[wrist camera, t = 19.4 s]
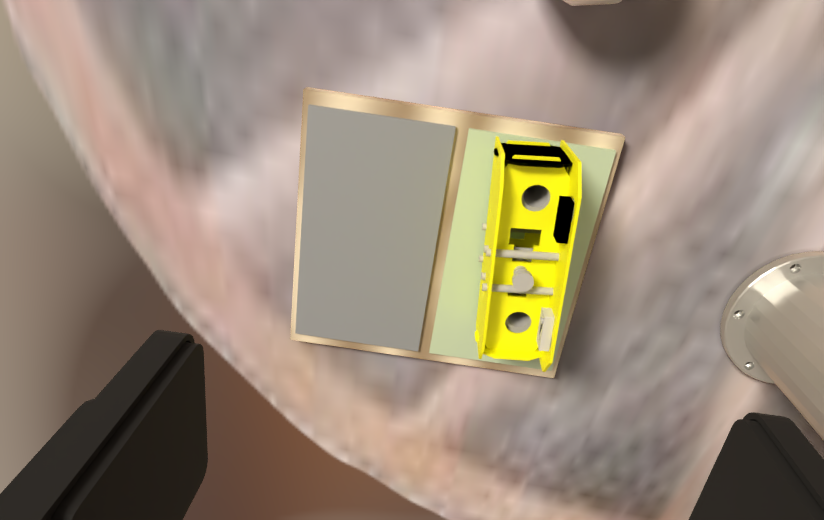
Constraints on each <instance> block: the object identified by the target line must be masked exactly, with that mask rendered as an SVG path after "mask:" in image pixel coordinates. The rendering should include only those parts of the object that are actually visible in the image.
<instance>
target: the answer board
mask: <svg viewBox="0 0 824 520" xmlns="http://www.w3.org/2000/svg"><path fill="white" fill-rule="evenodd" d="M496 136H497V137H499V139H500V142H501V143H506V142H507V141H508V140H512V141H530V142H548V143H549V144H550V145H553V146H558V147H560V142H561V140H564V141H565V142H566V144H567V145H568V146H569V147H570V149H571V150H572V151H573V152H574V154H575V155H576V156H577V157H578V159H579V160H580V161H581V163H582V199H581V205H580V210H579V216H578V222H577V227H576V233H575V238H574V244H573V250H572V255H571V261H570V267H569V272H568V278H567V283H566V289H565V295H564V300H563V306H562V312H561V317H560V323H559V328H558V334H557V340H556V345H555V351H554V357H553V362H552V364H551V365H550V367H549V368H548V369H547V370H546V372H542V368H541V364H540V360H539V358H536V359H533V360H530V361H523V360H508V359H494V358H492V357H489V356H487V355H484V354H483V356H482V359H479V357H478V346H477V342H476V341H475V331H476V318H477V309H478V299H479V290H480V280H481V271H482V262H479V255H483V252H484V242H485V233H486V230H482V223H487V214H488V204H489V195H490V185H491V176H492V166H493V157H494V148H495V138H496ZM624 141H625V137H624V136H623V135H622V134H618V133H611V132H605V131H598V130H591V129H584V128H578V127H571V126H564V125H558V124H551V123H544V122H537V121H531V120H524V119H517V118H511V117H504V116H497V115H491V114H484V113H477V112H470V111H464V110H457V109H450V108H444V107H437V106H430V105H423V104H417V103H410V102H403V101H397V100H390V99H383V98H376V97H370V96H363V95H356V94H350V93H343V92H336V91H330V90H323V89H316V88H309V87H307V88H305V89H303V107H302V126H301V145H300V165H299V184H298V203H297V222H296V241H295V260H294V279H293V298H292V317H291V337H290V340H297V341H304V342H310V343H317V344H324V345H331V346H338V347H345V348H351V349H358V350H365V351H372V352H379V353H385V354H392V355H399V356H406V357H413V358H420V359H426V360H433V361H440V362H447V363H454V364H461V365H467V366H474V367H481V368H488V369H495V370H502V371H508V372H515V373H522V374H529V375H536V376H542V377H549V378H554V376H555V373H556V369H557V366H558V362H559V359H560V356H561V352H562V349H563V346H564V342H565V339H566V336H567V332H568V329H569V325H570V322H571V319H572V315H573V312H574V309H575V305H576V302H577V299H578V295H579V292H580V289H581V285H582V282H583V278H584V275H585V272H586V268H587V265H588V262H589V258H590V255H591V252H592V248H593V245H594V241H595V238H596V235H597V231H598V228H599V225H600V221H601V218H602V215H603V211H604V208H605V205H606V201H607V198H608V194H609V191H610V188H611V184H612V181H613V178H614V174H615V171H616V168H617V164H618V161H619V157H620V154H621V151H622V147H623V144H624ZM533 186H534V185H533ZM530 187H532V186H530ZM528 188H529V187H528ZM573 201H574V198H573ZM573 216H574V210H573V215H572V220H573ZM571 222H572V221H571ZM524 236H525V233H519V232H510V238H515V239H524ZM551 341H552V337H551ZM550 347H551V343H550Z"/></svg>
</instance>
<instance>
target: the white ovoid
mask: <svg viewBox="0 0 824 520" xmlns="http://www.w3.org/2000/svg"><path fill="white" fill-rule="evenodd" d="M562 1H564V2H566V3H567V4H569V5H571V6H578V5H601V4H618V3H619V2H621V1H622V0H562Z"/></svg>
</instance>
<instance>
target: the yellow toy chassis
mask: <svg viewBox="0 0 824 520" xmlns="http://www.w3.org/2000/svg"><path fill="white" fill-rule="evenodd" d="M533 185H534V186H533ZM530 186H532V187H530ZM528 187H529V188H528ZM573 198H574V201H573ZM581 199H582V163H581V161H580V160H579V159H578V157H577V156H576V155H575V154H574V152H573V151H572V150H571V149H570V147H569V146H568V145H567V144H566V142H565V141H564V140H561V142H560V147H558V146H553V145H550V144H549V143H548V142H530V141H512V140H508V141H507V142H506V143H501V142H500V139H499V137H497V136H496V138H495V148H494V157H493V166H492V176H491V185H490V195H489V204H488V214H487V223H482V230H486V233H485V242H484V252H483V255H479V262H482V271H481V280H480V290H479V299H478V309H477V318H476V331H475V341H476V342H477V346H478V357H479V359H482V356H483V354H484V355H487V356H489V357H492V358H494V359H508V360H523V361H530V360H533V359H536V358H539V360H540V364H541V368H542V372H546V370H547V369H548V368H549V367H550V365H551V364H552V362H553V357H554V351H555V345H556V340H557V334H558V328H559V323H560V317H561V312H562V306H563V300H564V295H565V289H566V283H567V278H568V272H569V267H570V261H571V255H572V250H573V244H574V238H575V233H576V227H577V222H578V216H579V210H580V205H581ZM573 210H574V216H573V220H572V215H573ZM571 221H572V222H571ZM510 232H519V233H525V236H524V239H515V238H510ZM551 337H552V341H551ZM550 343H551V347H550Z"/></svg>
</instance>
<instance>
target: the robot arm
mask: <svg viewBox="0 0 824 520" xmlns="http://www.w3.org/2000/svg"><path fill="white" fill-rule="evenodd" d="M720 336H721V340H722V345H723V347H724V349H725V351H726V353H727V355H728V356H729V358H730V359H731V360H732V361H733V363H734V364H735V365H736V366H737V367H738V368H739V369H740V370H741V371H742V372H743V373H745V374H747V375H749V376H750V377H752V378H754V379H757V380H760V381H763V382H766V383H772V384H776V385H777V386H778V387H779V388H780V390H781V391H782V392H783V393H784V394H785V395H786V397H787V398H788V399H789V400H790V401H791V403H792V404H793V405H794V406H795V407H796V408H797V410H798V411H799V412H800V413H801V414H802V416H803V417H804V418H805V419H806V420H807V421H808V423H809V424H810V425H811V426H812V427H813V429H814V430H815V431H816V432H817V433H818V434H819V436H820V437H821V438H822V439H823V440H824V251H812V252H803V253H798V254H792V255H789V256H786V257H783V258H781V259H778V260H775V261H773V262H771V263H769V264H768V265H766V266H764V267H762V268H760V269H759V270H758V271H756V272H755V273H753V274H752V275H751V276H749V277H748V278H747V279H746V280H745V281H744V282H743V283H742V284H741V285H740V286H739V287H738V288H737V289H736V291H735V292H734V294H733V295H732V296H731V298H730V299H729V301H728V303H727V305H726V307H725V309H724V312H723V316H722V320H721V328H720ZM206 428H207V427H206V403H205V376H204V352H203V347H202V345H201V344H196V343H194V339H193V336H192V335H190V334H185V333H178V332H171V331H164V330H157V331H155V332H154V333H153V334H152V335H151V336H150V337H149V338H148V339H147V340H146V342H145V343H144V344H143V345H142V346H141V347H140V348H139V350H138V351H137V352H136V353H135V354H134V355H133V356H132V357H131V359H130V360H129V361H128V362H127V363H126V364H125V365H124V366H123V367H122V369H121V370H120V371H119V372H118V373H117V374H116V375H115V376H114V378H113V379H112V380H111V381H110V382H109V383H108V384H107V386H106V387H105V388H104V389H103V390H102V391H101V392H100V393H99V395H98V396H97V397H96V398H95V399H92V400H89V401H86V402H85V403H84V404H82V405H81V406H80V407H79V408H78V409H77V410H76V411H75V412H74V413H73V414H72V416H71V417H70V418H69V419H68V420H67V421H66V422H65V423H64V424H63V426H62V427H61V428H60V429H59V430H58V431H57V432H56V433H55V434H54V435H53V436H52V438H51V439H50V440H49V441H48V442H47V443H46V444H45V445H44V446H43V447H42V449H41V450H40V451H39V452H38V453H37V454H36V455H35V456H34V458H33V459H32V460H31V461H30V462H29V463H28V464H27V465H26V466H25V468H23V470H22V471H21V472H20V473H19V474H18V475H17V476H16V477H15V478H14V479H13V481H12V482H11V483H10V484H9V485H8V486H7V487H6V488H5V489H4V490H3V492H2V493H1V494H0V520H183V518H184V516H185V514H186V512H187V510H188V508H189V506H190V504H191V502H192V500H193V498H194V496H195V494H196V492H197V491H198V489H199V487H200V485H201V483H202V481H203V478H204V476H205V473H206V468H207V462H208V453H207V429H206ZM689 520H824V460H823V459H822V457H821V456H820V455H819V454H818V452H817V451H816V450H815V449H814V447H813V446H812V445H811V444H810V442H809V441H808V440H807V439H806V438H805V436H804V435H803V434H802V433H801V431H800V430H799V429H798V428H797V426H796V425H795V424H794V423H793V422H792V421H791V420H790V419H789V418H786V417H782V416H775V415H768V414H760V413H748V414H747V415H746V416H745V417H744V418H743V420H742V419H740V420H737V421H736V422H735V423H734V424H733V426H732V428H731V430H730V432H729V434H728V436H727V439H726V441H725V443H724V445H723V447H722V449H721V451H720V454H719V456H718V458H717V460H716V462H715V464H714V467H713V469H712V471H711V473H710V475H709V477H708V479H707V482H706V484H705V486H704V488H703V490H702V492H701V495H700V497H699V499H698V501H697V503H696V505H695V507H694V510H693V512H692V514H691V516H690V518H689Z"/></svg>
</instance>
